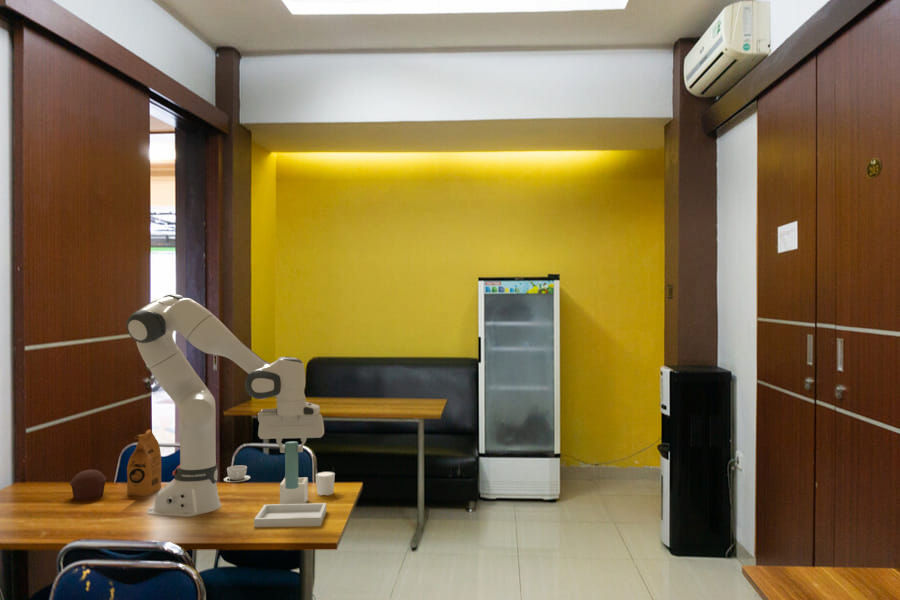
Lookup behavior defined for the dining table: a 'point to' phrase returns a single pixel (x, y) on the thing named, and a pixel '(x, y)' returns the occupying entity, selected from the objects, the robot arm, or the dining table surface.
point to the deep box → (294, 492)
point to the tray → (290, 515)
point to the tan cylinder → (325, 483)
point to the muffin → (88, 485)
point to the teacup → (237, 473)
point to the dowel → (291, 465)
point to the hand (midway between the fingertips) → (291, 452)
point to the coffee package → (144, 466)
